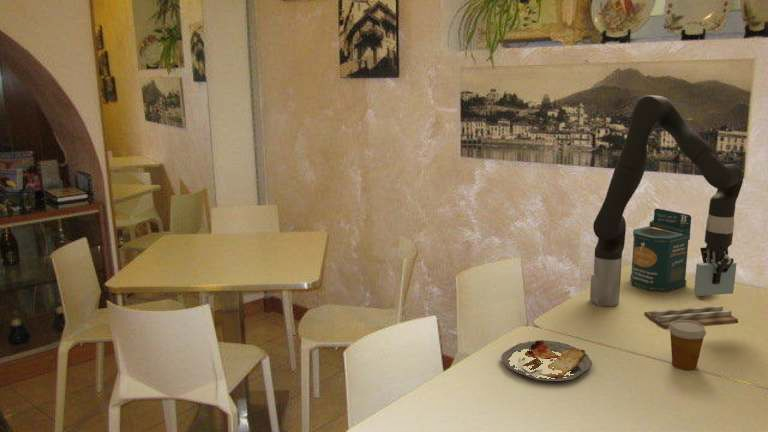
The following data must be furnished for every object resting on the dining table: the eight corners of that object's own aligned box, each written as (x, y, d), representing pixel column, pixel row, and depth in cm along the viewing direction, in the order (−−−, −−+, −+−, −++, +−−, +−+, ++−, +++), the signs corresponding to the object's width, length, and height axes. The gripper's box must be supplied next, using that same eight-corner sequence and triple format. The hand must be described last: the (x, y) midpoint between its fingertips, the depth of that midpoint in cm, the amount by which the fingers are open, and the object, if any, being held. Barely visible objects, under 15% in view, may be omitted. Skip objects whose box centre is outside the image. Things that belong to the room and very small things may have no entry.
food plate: (535, 339, 200) (535, 329, 199) (605, 362, 184) (605, 351, 183) (487, 368, 183) (487, 357, 182) (560, 397, 167) (560, 384, 166)
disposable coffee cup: (700, 360, 184) (704, 321, 181) (705, 375, 175) (708, 334, 172) (664, 356, 187) (667, 317, 184) (667, 370, 178) (670, 330, 175)
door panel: (697, 296, 199) (700, 265, 196) (693, 293, 201) (696, 263, 198) (733, 293, 200) (736, 263, 198) (729, 291, 202) (732, 261, 200)
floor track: (664, 328, 206) (664, 321, 206) (644, 314, 218) (644, 307, 217) (737, 322, 210) (738, 315, 209) (714, 309, 221) (714, 302, 221)
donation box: (685, 286, 245) (691, 215, 238) (658, 294, 237) (663, 221, 230) (649, 275, 258) (654, 207, 252) (622, 282, 250) (627, 213, 244)
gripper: (694, 224, 202) (689, 276, 206) (722, 235, 188) (715, 290, 193) (716, 223, 203) (710, 274, 207) (745, 234, 189) (738, 289, 193)
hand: (713, 282), depth 200 cm, fingers closed on door panel, 2 cm apart
